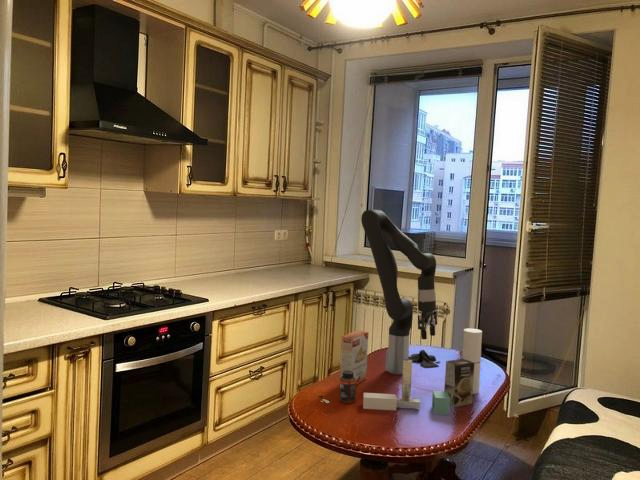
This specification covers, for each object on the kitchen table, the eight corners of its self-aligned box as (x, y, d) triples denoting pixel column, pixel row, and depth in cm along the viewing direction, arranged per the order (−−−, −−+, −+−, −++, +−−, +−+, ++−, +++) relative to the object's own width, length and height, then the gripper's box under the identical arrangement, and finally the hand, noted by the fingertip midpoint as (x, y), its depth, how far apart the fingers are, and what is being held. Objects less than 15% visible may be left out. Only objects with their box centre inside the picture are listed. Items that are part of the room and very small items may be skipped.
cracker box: (351, 389, 208) (353, 338, 207) (338, 386, 212) (340, 335, 210) (367, 379, 220) (369, 331, 219) (354, 376, 224) (356, 329, 222)
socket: (434, 413, 186) (435, 397, 186) (431, 406, 193) (432, 390, 193) (449, 414, 186) (450, 398, 185) (445, 407, 193) (446, 391, 192)
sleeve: (363, 408, 189) (363, 397, 189) (363, 403, 194) (363, 392, 193) (396, 410, 188) (396, 399, 188) (395, 405, 193) (395, 394, 193)
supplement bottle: (357, 399, 198) (358, 370, 197) (352, 405, 192) (353, 375, 191) (342, 397, 200) (343, 368, 199) (337, 402, 194) (338, 373, 193)
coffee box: (454, 407, 193) (456, 365, 191) (443, 401, 198) (445, 360, 197) (472, 404, 197) (475, 362, 196) (461, 398, 202) (463, 357, 201)
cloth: (434, 371, 236) (435, 358, 236) (397, 363, 246) (398, 351, 246) (450, 360, 255) (451, 347, 254) (415, 353, 265) (415, 341, 264)
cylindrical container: (479, 394, 207) (483, 333, 205) (461, 392, 208) (464, 331, 207) (477, 388, 214) (481, 329, 212) (460, 386, 215) (463, 327, 214)
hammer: (366, 405, 190) (367, 359, 188) (365, 402, 193) (367, 357, 192) (419, 408, 188) (422, 362, 187) (418, 405, 191) (420, 360, 190)
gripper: (425, 297, 230) (427, 333, 230) (411, 301, 218) (413, 339, 218) (441, 298, 225) (443, 335, 225) (427, 302, 214) (429, 341, 214)
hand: (428, 337), depth 222 cm, fingers open, 8 cm apart
